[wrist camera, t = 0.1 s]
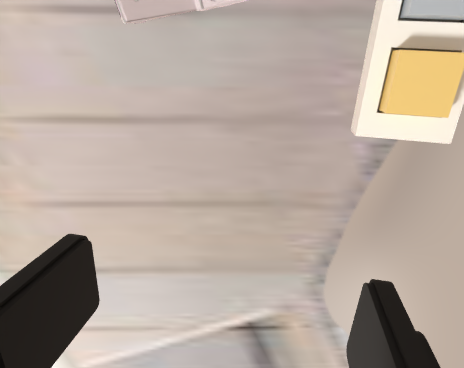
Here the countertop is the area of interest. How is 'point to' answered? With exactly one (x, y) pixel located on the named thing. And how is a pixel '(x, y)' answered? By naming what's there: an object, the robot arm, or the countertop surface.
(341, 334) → the countertop surface
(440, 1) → the key slate
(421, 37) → the keypad
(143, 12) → the mobile phone
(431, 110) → the key ochre
